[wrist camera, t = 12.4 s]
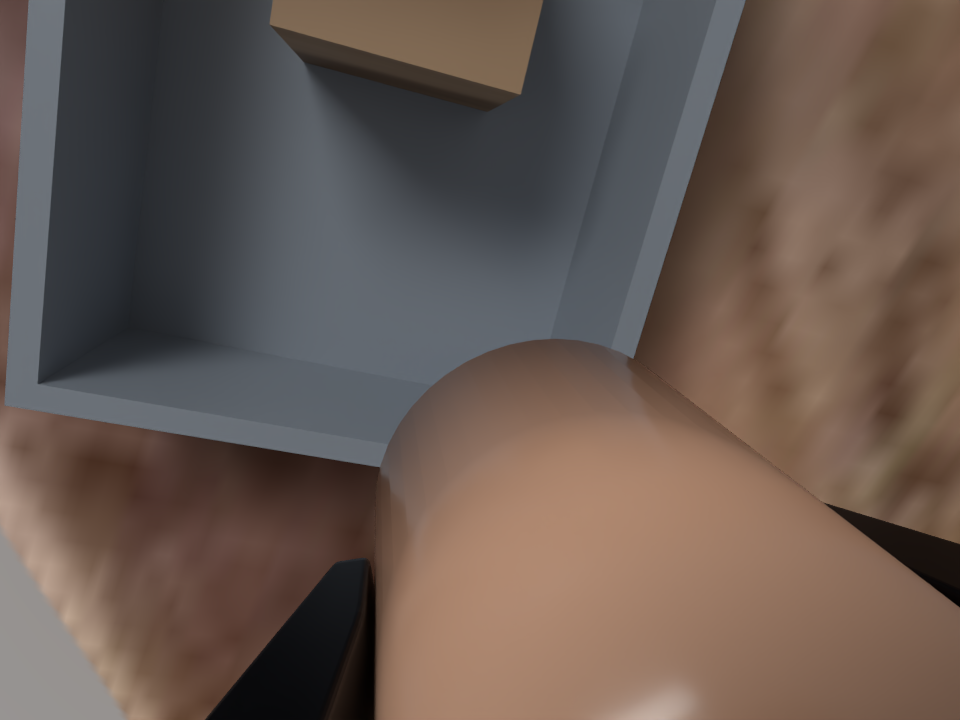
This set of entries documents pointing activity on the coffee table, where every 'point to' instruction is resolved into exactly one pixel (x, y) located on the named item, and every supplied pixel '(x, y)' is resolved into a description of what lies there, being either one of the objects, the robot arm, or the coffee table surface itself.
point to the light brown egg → (628, 564)
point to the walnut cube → (418, 43)
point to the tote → (332, 214)
